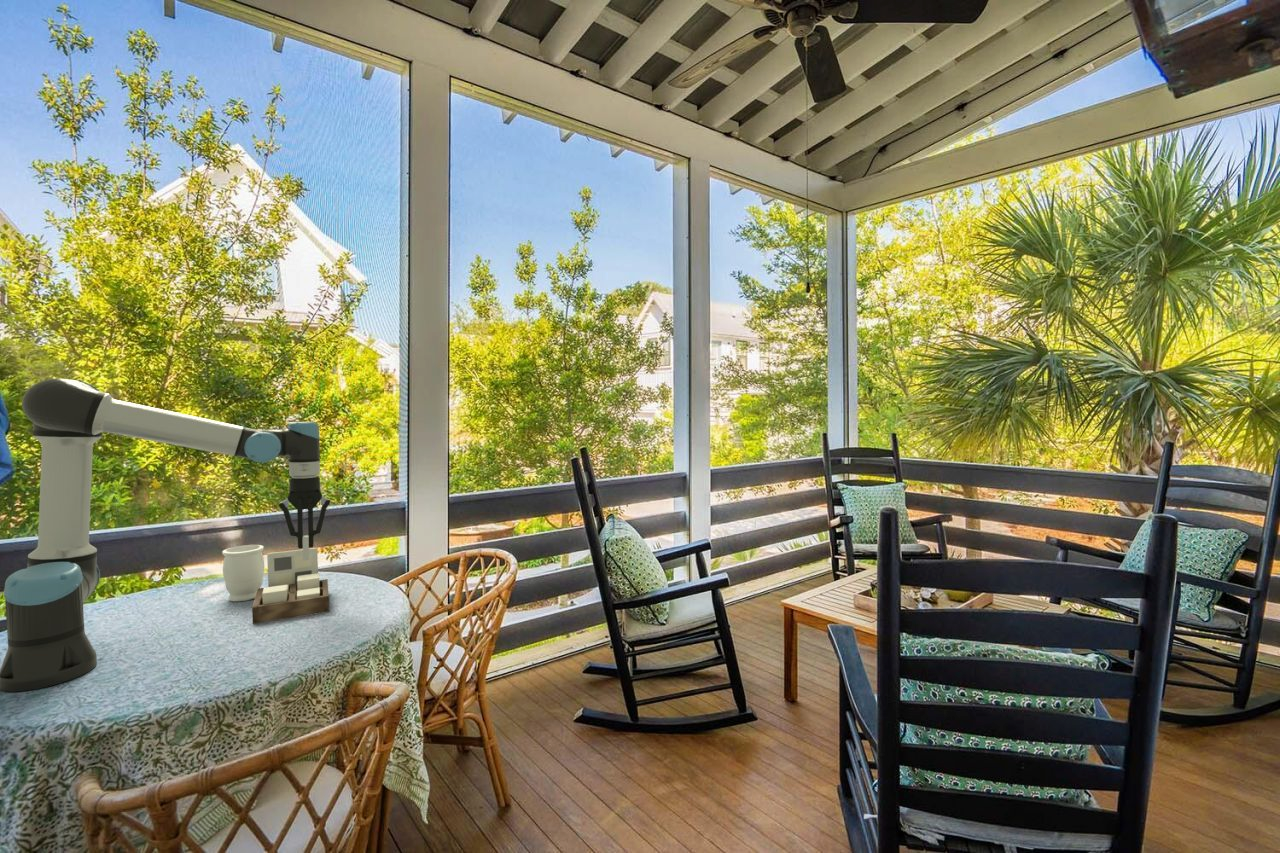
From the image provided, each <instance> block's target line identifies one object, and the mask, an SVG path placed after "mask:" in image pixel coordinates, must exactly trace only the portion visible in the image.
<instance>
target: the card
mask: <svg viewBox="0 0 1280 853" xmlns="http://www.w3.org/2000/svg"><path fill="white" fill-rule="evenodd" d="M266 557H267V558H266V559H267V583H268V586H267V587H273V586H280V585H287V584H296V583H297V578H298V576H301V575H308V574H316V573H319V566H318V564H319V561H318V558H319V557H318V547H311V548H309V560H305V561H303V548H301V549H295V550H294V549H293V550H287V551H278V552H276V551H274V552H268V553H267V554H266Z"/></svg>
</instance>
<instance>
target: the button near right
mask: <svg viewBox="0 0 1280 853" xmlns="http://www.w3.org/2000/svg"><path fill="white" fill-rule="evenodd" d="M317 596H320V587H319V588H312V589H305V590H298V591H297V599H303V598H310V597H317Z"/></svg>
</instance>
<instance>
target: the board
mask: <svg viewBox="0 0 1280 853" xmlns="http://www.w3.org/2000/svg"><path fill="white" fill-rule="evenodd" d="M328 581H329V580H328V579H327V578H326V579H325V578H324V579H319V585H320V596H317V597H310V598H303V599H297V591H298V589H297V583H296V584H289V592H288V600H287V601H283V602H276V603H270V604H263V599H262V593H263V589H264V588H265V587H260V589H258V590H257V593H256V597H255V598H254V600H253V604H252V607H251V610H252V612H251V614H252V624H253V625H254V624H255V625H256V624H261V623H268V622H273V621H279V620H285V619H292V618H298V617H303V616H304V615H305V616H310V614H311V615H315V614H316V613H317V614H322V613H328V612H330V596H329V595H330V594H329V583H328ZM297 616H298V617H297ZM305 616H304V617H305Z"/></svg>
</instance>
